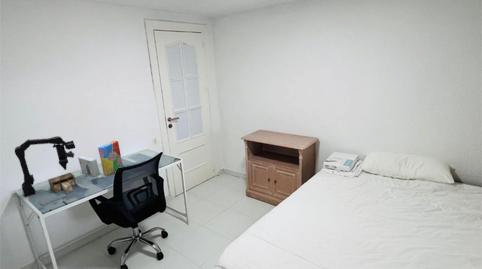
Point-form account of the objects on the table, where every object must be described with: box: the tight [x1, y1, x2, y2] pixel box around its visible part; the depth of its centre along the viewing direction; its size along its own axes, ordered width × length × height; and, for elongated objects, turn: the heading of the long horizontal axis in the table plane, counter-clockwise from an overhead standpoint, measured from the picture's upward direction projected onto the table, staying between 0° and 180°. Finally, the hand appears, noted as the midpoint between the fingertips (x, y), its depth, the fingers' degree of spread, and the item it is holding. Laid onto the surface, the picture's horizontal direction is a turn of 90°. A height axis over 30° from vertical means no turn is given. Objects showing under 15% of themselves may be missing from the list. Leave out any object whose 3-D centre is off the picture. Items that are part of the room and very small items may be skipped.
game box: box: [97, 140, 124, 176], centre depth 233 cm, size 21×6×27 cm, turn 168°
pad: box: [39, 192, 68, 206], centre depth 189 cm, size 16×7×1 cm, turn 141°
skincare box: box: [77, 155, 101, 177], centre depth 230 cm, size 21×6×16 cm, turn 62°
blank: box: [60, 181, 74, 194], centre depth 202 cm, size 4×14×6 cm, turn 51°
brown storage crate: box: [47, 172, 77, 194], centre depth 206 cm, size 16×9×9 cm, turn 141°
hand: (65, 168), depth 212 cm, fingers open, 9 cm apart
